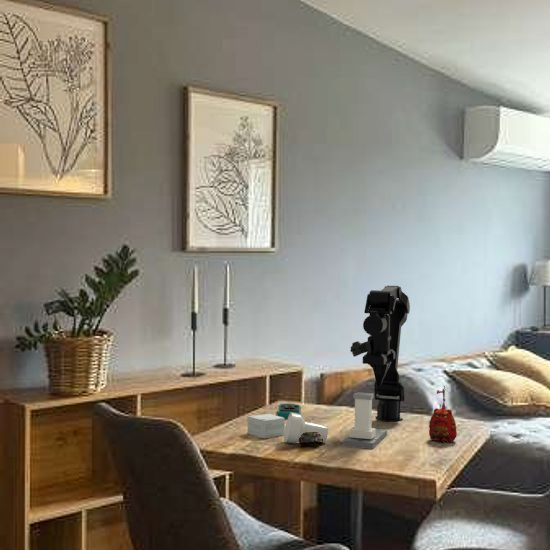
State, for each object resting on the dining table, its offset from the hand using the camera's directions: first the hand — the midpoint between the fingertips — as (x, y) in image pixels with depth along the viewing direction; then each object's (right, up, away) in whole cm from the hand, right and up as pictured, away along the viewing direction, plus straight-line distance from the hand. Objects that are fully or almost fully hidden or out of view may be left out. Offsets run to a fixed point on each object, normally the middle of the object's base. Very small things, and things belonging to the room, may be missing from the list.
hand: (378, 385), depth 235 cm
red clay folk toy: (+16, -14, -13) cm, 25 cm away
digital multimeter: (-26, -13, +20) cm, 36 cm away
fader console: (-6, -13, -15) cm, 21 cm away
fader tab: (-7, -11, -19) cm, 23 cm away
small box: (-33, -13, -9) cm, 37 cm away
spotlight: (-23, -13, -20) cm, 33 cm away
